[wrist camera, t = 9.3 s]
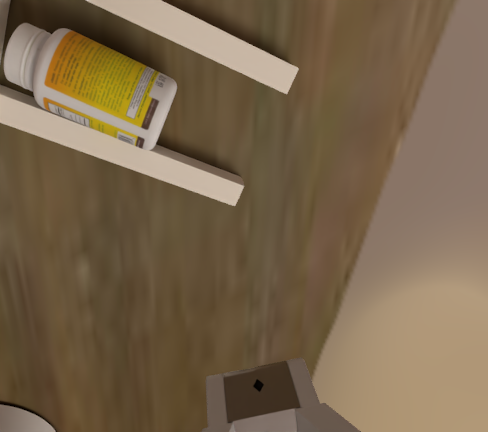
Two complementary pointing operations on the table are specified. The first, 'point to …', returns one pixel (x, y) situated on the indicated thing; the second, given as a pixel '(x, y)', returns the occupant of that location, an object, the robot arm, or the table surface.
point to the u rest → (159, 158)
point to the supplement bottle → (90, 83)
